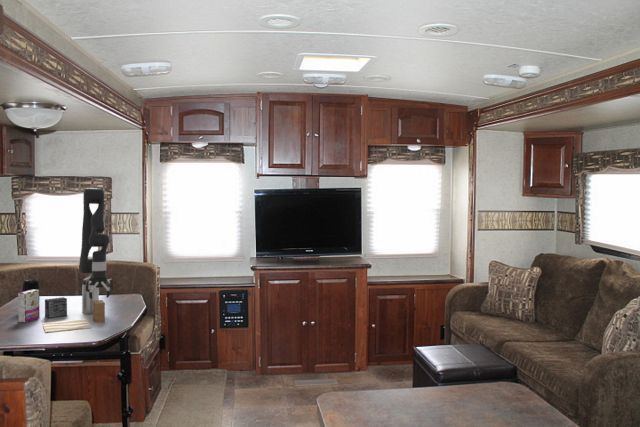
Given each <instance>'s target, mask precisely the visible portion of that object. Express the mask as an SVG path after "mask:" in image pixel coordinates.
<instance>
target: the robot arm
mask: <svg viewBox="0 0 640 427" xmlns="http://www.w3.org/2000/svg"><path fill="white" fill-rule="evenodd" d="M82 197H83V198H82V200H83V202H82V204H83V213H82V214H83V215H82V216H83V218H82V227H81V228H82V229H81V251H80V258H79V270H80V273H82V274H90V273H91V274H90V275H88V276H87V277H85V278H84V279H82V282H81V284H82V289H81V290H82V292H81V301H82V302H81V307H82V308H81V313H82V314H88V315H89V314H93V301H98V300H100V288H105V290H106V291H105V292H106V298H107V299H108V298H109V297H110V294H111V292H110V291H111V290H113V289H114V285H113V284H114V283H113V282H114V281H113V279H112V278H109V279H108V278H107V250H108V247H109V244H110V236H109V235H108V234H106V233H104V232H105V229H106V228H105V227H106V226H105V219H104V214H105V213H104V212H105V192H104V190H103V189H102V188H95V187H94V188H92V187H86V188H85V189H84V190H83V196H82ZM91 204H92V205H97V208H96V210H95V211H94V212H92V210H91V208H90V206H91ZM98 247H99V248H100V247H101V249H100V250H95V251H93V252H92V257H90V256H89V255H90V254H89V253H90V251H91V249H92V248H98ZM107 283H108V284H109V286H107Z"/></svg>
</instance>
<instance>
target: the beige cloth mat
mask: <svg viewBox="0 0 640 427" xmlns="http://www.w3.org/2000/svg"><path fill="white" fill-rule="evenodd" d="M42 327H43V330H44V333H45V334H48V333H47V332H50V333H58V332H66V331H67V332H68V331H77V330H78V331H79V330H87V329H92V326H91V325H90V323H89V322H88V320H87V319H86V318H82V319H74V320H73V319H72V320H63V321H62V320H61V321H53V322H52V321H51V322H43V323H42Z"/></svg>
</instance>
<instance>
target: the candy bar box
mask: <svg viewBox="0 0 640 427" xmlns="http://www.w3.org/2000/svg"><path fill="white" fill-rule="evenodd" d="M17 301H18V302H17V303H18V304H17V306H18V307H17V308H18V309H17V310H18V312H17V313H18V322H19V323H28V322H32V321H33V320H34V321H35V320H37V319H40V289H39V290H34V289H33V290H28V291H25V292H18V293H17Z"/></svg>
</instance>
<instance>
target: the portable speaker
mask: <svg viewBox="0 0 640 427" xmlns="http://www.w3.org/2000/svg"><path fill="white" fill-rule="evenodd" d="M33 289H34V290H39V291H40V283H39V278H24V279H23V284H22V292H25V291H28V290H33Z"/></svg>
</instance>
